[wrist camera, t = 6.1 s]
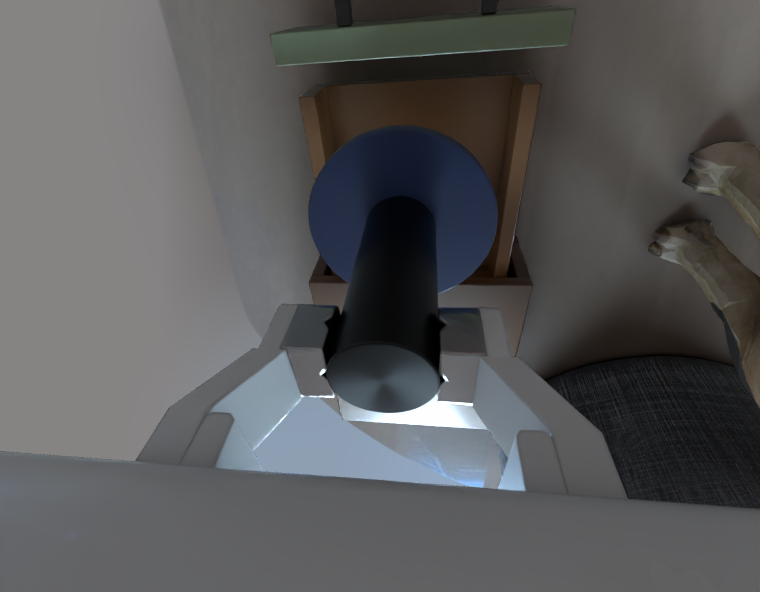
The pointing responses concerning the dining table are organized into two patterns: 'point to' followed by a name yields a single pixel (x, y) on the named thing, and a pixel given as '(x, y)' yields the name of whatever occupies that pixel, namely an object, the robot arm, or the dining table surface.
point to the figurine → (723, 250)
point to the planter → (672, 427)
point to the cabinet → (467, 294)
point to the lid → (397, 256)
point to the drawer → (433, 92)
